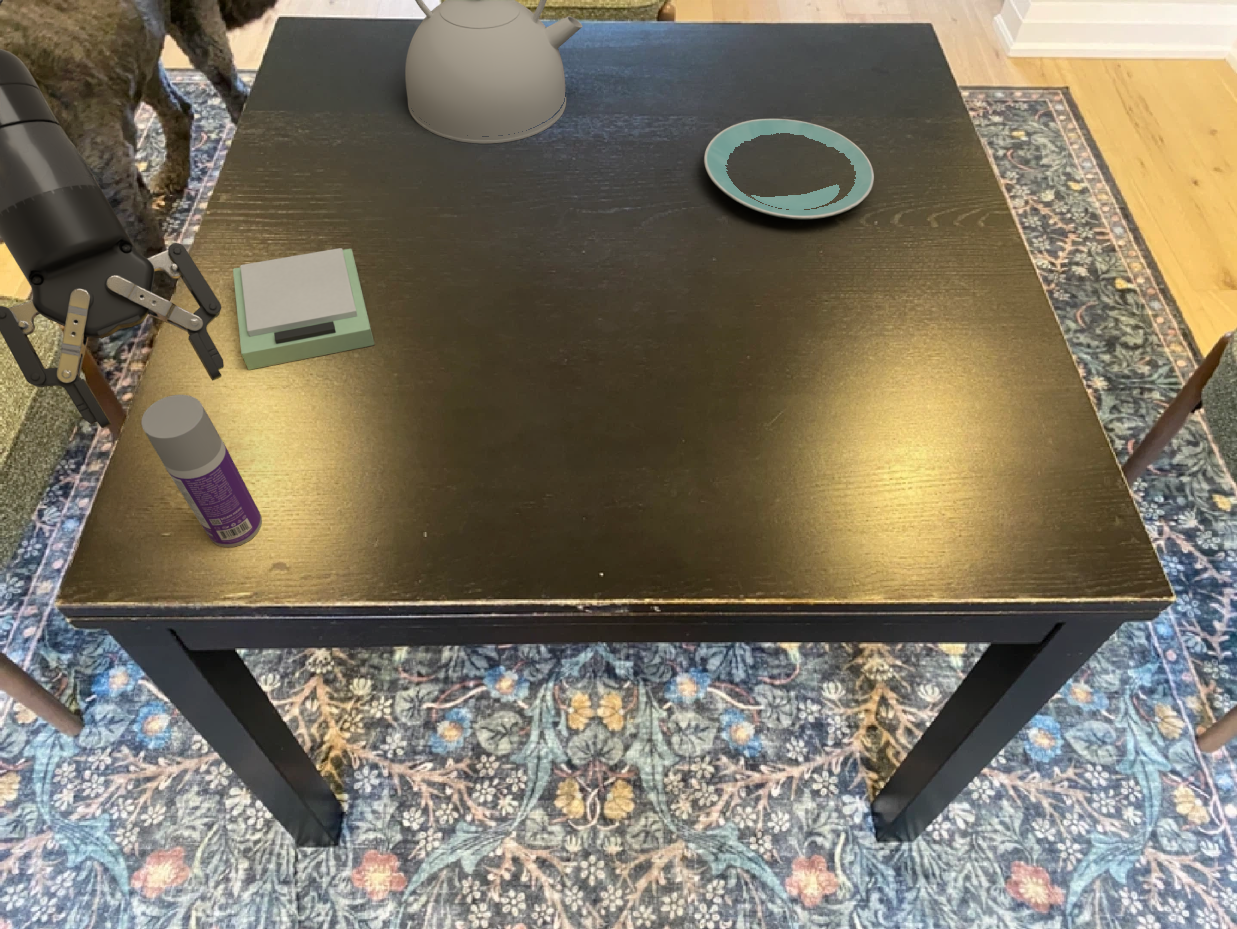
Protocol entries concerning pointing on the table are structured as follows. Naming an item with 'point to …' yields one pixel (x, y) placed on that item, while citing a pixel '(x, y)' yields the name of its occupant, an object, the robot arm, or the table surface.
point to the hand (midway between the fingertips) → (163, 401)
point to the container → (202, 469)
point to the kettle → (486, 70)
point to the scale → (300, 308)
